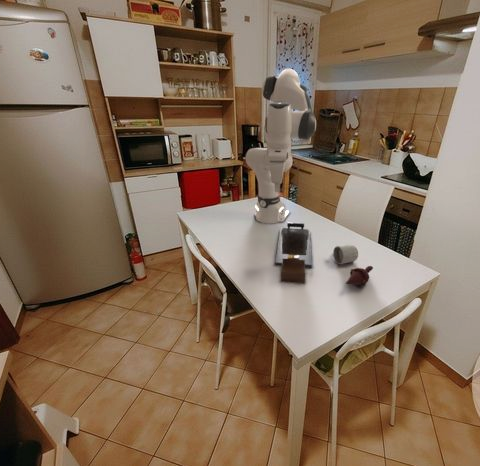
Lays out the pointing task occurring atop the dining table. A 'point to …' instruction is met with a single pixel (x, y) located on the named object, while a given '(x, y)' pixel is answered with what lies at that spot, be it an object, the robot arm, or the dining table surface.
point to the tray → (285, 256)
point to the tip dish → (294, 239)
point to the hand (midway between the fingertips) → (278, 187)
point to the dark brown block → (293, 271)
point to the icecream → (359, 276)
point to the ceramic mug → (345, 254)
